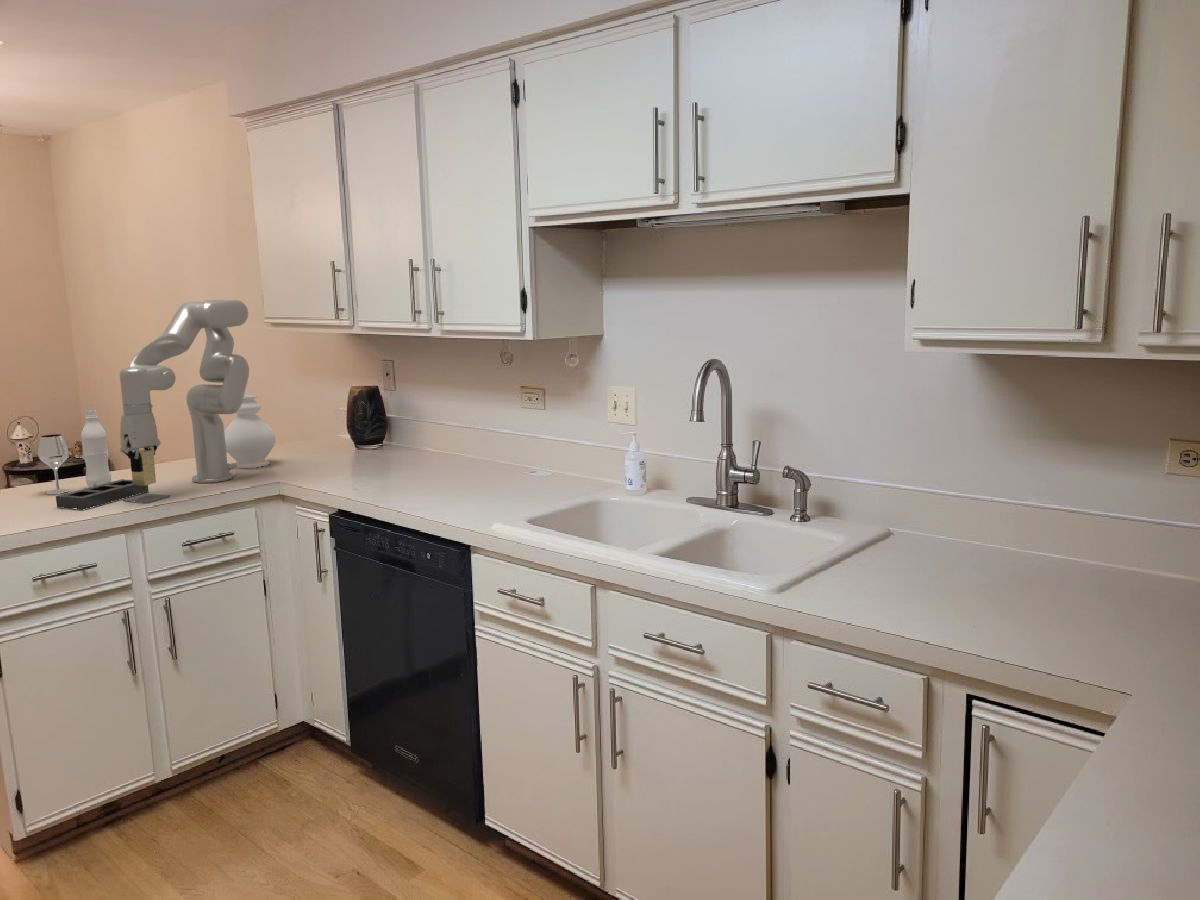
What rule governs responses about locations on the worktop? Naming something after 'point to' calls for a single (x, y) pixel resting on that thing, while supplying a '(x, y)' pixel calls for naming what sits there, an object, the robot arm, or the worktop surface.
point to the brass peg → (145, 469)
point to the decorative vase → (249, 436)
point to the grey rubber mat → (146, 497)
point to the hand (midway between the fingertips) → (143, 469)
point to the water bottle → (95, 451)
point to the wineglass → (53, 455)
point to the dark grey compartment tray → (99, 494)
